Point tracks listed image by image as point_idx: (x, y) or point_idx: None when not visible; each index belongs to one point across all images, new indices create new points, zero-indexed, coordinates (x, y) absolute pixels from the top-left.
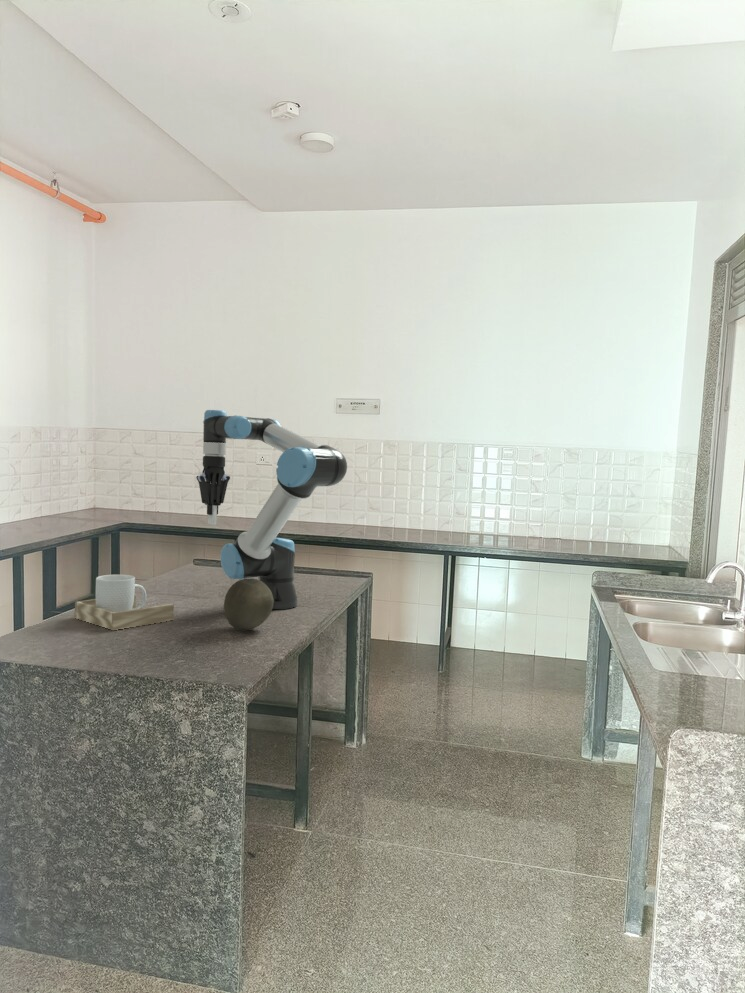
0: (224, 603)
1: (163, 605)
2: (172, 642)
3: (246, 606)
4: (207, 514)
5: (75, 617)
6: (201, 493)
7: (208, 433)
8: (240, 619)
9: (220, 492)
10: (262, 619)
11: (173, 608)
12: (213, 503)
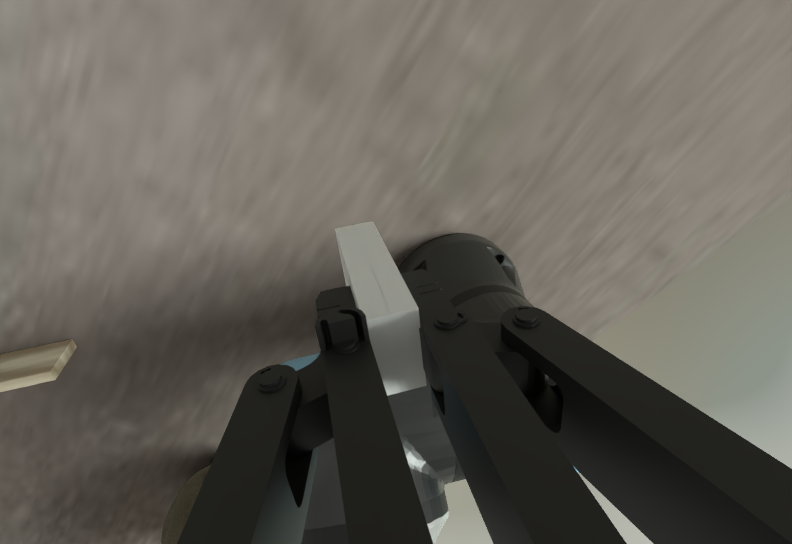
0: (162, 533)
1: (12, 386)
2: (18, 515)
3: None
4: (321, 294)
5: None
6: (198, 533)
7: None
8: None
9: (603, 452)
10: None
11: (61, 370)
12: (426, 347)
